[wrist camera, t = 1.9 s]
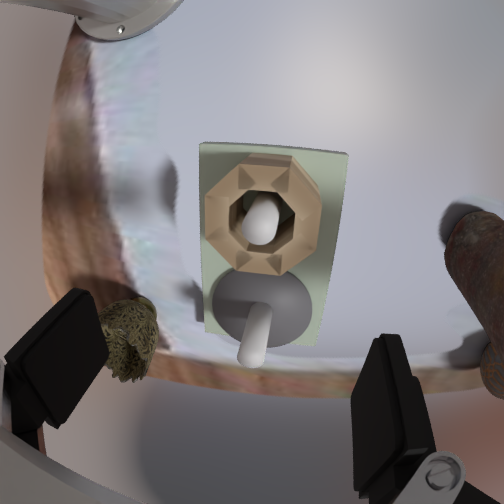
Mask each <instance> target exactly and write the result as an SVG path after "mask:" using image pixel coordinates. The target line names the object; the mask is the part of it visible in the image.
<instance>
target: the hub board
mask: <svg viewBox="0 0 504 504" xmlns="http://www.w3.org/2000/svg"><path fill="white" fill-rule="evenodd" d="M251 153H267V154H280V155H291V156H293V157H294V158H295V159H296V160H297V161H298V163H299V164H300V165H301V166H302V167H303V168H304V170H305V171H306V172H307V173H308V174H309V176H310V177H311V178H312V179H313V180H314V181H315V183H316V184H317V185H318V188H319V193H320V198H321V203H322V210H321V218H320V226H319V233H318V240H317V247H316V251H315V252H314V253H312V254H311V255H309V256H308V257H306V258H305V259H304V260H302V261H301V262H299V263H298V264H296V265H295V266H294V267H292V268H291V269H289V270H288V271H286V272H285V273H284V274H282V275H281V276H277V275H269V274H260V273H251V272H243V271H236V270H235V269H234V268H233V267H232V266H231V265H230V264H229V263H228V262H227V261H226V260H225V259H224V258H223V257H222V256H221V255H220V254H219V253H218V252H217V251H216V250H215V249H214V248H213V247H212V245H211V244H210V243H209V242H208V241H207V240H206V239H205V195H206V194H207V193H208V192H209V191H210V190H211V189H212V188H213V187H214V186H215V185H216V184H217V183H218V182H219V181H221V180H222V179H223V178H224V177H225V176H226V175H227V174H228V173H229V172H230V171H231V170H233V169H234V168H235V167H236V166H237V165H238V164H239V163H240V162H242V161H243V160H244V159H245V158H246V157H248V156H249V155H250V154H251ZM348 157H349V156H348V154H347V153H345V152H337V151H329V150H321V149H311V148H302V147H292V146H291V147H290V146H280V145H267V144H251V143H229V142H203V143H200V144H199V193H200V194H199V197H200V199H199V200H200V240H201V268H202V289H203V307H204V323H205V332H208V333H214V334H221V335H227V336H231V337H233V338H234V339H236V340H238V341H240V342H241V344H240V348H239V351H238V355H237V360H238V361H239V363H240V364H242V365H243V366H245V367H248V368H257V367H260V366H261V365H262V364H263V363H264V358H265V352H266V348H268V347H269V348H271V347H278V346H282V345H285V344H298V345H307V346H315V345H316V341H317V337H318V333H319V329H320V324H321V320H322V315H323V310H324V306H325V301H326V296H327V291H328V286H329V281H330V275H331V271H332V265H333V259H334V254H335V248H336V242H337V236H338V230H339V224H340V217H341V211H342V204H343V197H344V189H345V182H346V174H347V165H348ZM243 208H244V209H245V210H246V211H247V215H246V216H245V218H244V220H243V222H242V227H241V229H242V233H243V236H244V237H245V238H246V240H248V241H249V242H250V243H253V244H256V245H264V244H267V243H269V242H270V241H271V240H272V239H273V238H274V236H275V234H276V230H277V225H280V224H281V223H282V222H284V221H285V220H286V219H288V218H289V217H290V216H291V215H293V214H294V213H295V212H294V211H293V210H292V209H291V207H290V206H289V205H288V204H287V203H286V202H285V201H284V199H283V198H282V197H281V196H280V195H279V194H278V193H277V192H271V191H259V190H248V191H246V192H245V193H244V194H243Z"/></svg>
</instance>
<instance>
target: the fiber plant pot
mask: <svg viewBox="0 0 504 504" xmlns="http://www.w3.org/2000/svg"><path fill="white" fill-rule="evenodd" d="M98 317H99V320H100V323H101V327H102V330H103V333H104V336H105V340H106V343H107V346H108V349H109V358H108V360H107V362H106V363H105V364H104V366H107V368H108V369H112V371H113V374H112V377H113V378H115V377H117V376H119V380H120V381H121V382H126V381H128V380H129V379H131V378H132V382H133V383H134V382H135V381H137V379H138V377H140V380H142V379H143V377H145V376H146V373H147V370H148V367H149V365H150V362H151V360H152V357H153V354H154V352H155V349H156V346H157V342H158V337H159V329H158V324H157V321H156V319H157V311H156V308H155V306H154V305H153V304H152V303H151V302H150V301H149V300H147V299H146V298H143V297H135V298H132V299H130V300H118V301H115V302H113V303H111V304H110V305H108V306H107V307H105V308H104V309H103V310H102V311H100V312H99V313H98Z"/></svg>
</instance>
